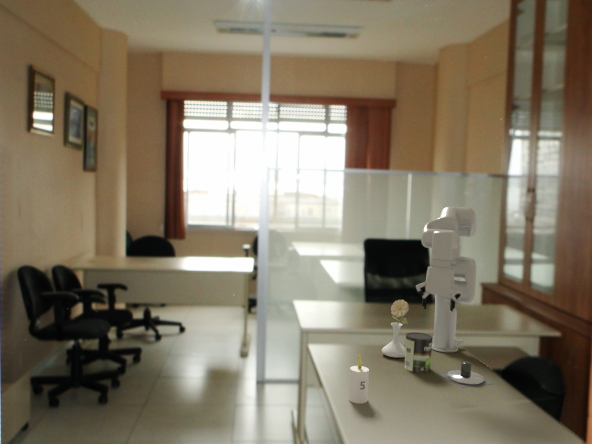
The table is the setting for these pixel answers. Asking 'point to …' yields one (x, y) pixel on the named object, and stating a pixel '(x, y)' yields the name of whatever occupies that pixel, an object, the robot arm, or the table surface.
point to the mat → (463, 384)
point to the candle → (358, 383)
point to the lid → (465, 375)
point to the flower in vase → (397, 330)
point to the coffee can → (418, 352)
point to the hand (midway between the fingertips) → (438, 309)
